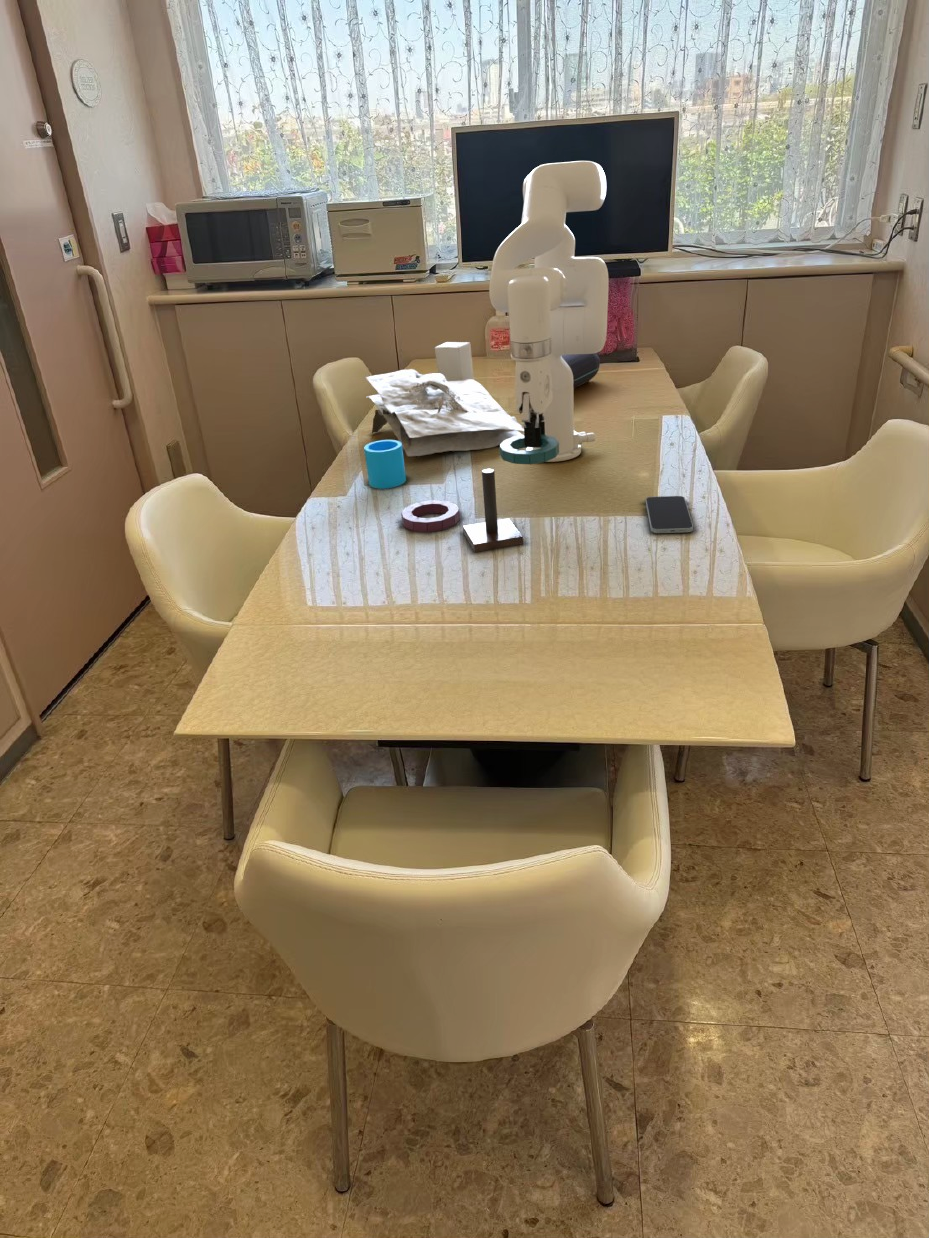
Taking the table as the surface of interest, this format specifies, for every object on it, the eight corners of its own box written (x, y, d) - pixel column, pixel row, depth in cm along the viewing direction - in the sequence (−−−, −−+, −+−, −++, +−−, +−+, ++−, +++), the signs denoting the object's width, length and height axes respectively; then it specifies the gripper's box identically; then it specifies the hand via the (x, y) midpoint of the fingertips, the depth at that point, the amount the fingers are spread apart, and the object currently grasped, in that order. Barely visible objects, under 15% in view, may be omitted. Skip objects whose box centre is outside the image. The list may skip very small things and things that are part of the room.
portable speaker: (573, 377, 248) (573, 343, 243) (603, 380, 242) (603, 345, 237) (529, 399, 230) (527, 363, 226) (560, 403, 225) (559, 365, 220)
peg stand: (509, 525, 156) (505, 459, 149) (523, 544, 148) (519, 475, 142) (463, 533, 154) (457, 466, 148) (474, 552, 147) (469, 483, 140)
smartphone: (651, 529, 147) (644, 497, 160) (651, 534, 148) (644, 501, 160) (694, 528, 146) (684, 495, 159) (693, 533, 146) (684, 500, 159)
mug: (400, 488, 178) (395, 452, 173) (364, 488, 179) (358, 452, 175) (415, 469, 188) (411, 434, 184) (381, 469, 189) (376, 434, 185)
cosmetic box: (476, 398, 236) (472, 342, 228) (463, 404, 231) (459, 347, 224) (451, 396, 240) (447, 340, 232) (439, 402, 236) (433, 346, 228)
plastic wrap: (534, 410, 195) (408, 421, 183) (525, 472, 204) (405, 485, 193) (476, 357, 220) (362, 364, 208) (470, 414, 229) (361, 423, 218)
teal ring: (549, 440, 164) (548, 430, 163) (565, 459, 155) (565, 448, 154) (495, 448, 163) (494, 439, 162) (508, 467, 154) (508, 457, 152)
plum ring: (453, 506, 166) (452, 496, 165) (464, 526, 157) (463, 517, 156) (399, 514, 165) (398, 504, 164) (406, 535, 156) (405, 525, 155)
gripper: (540, 360, 145) (543, 459, 155) (560, 337, 158) (563, 431, 167) (499, 360, 147) (505, 458, 157) (522, 338, 160) (527, 430, 170)
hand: (535, 443), depth 162 cm, fingers closed on teal ring, 2 cm apart
